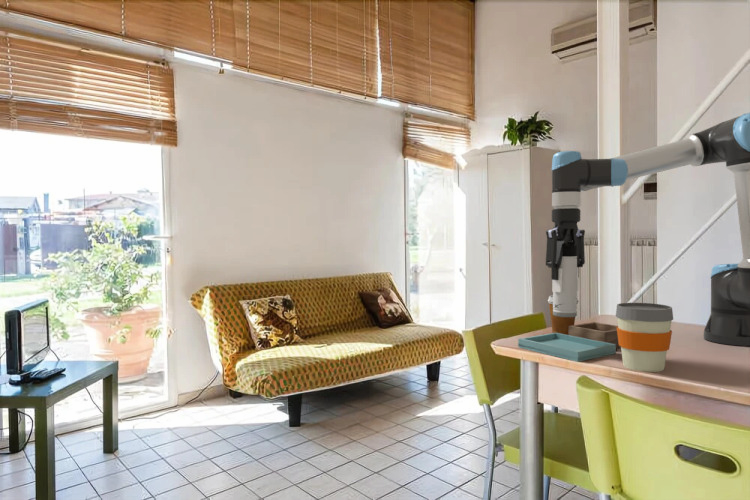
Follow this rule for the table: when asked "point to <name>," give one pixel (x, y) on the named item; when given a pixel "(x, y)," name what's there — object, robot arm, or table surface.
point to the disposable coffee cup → (560, 320)
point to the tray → (567, 346)
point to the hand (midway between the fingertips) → (565, 290)
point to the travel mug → (567, 284)
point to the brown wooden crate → (596, 332)
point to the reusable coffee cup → (644, 335)
